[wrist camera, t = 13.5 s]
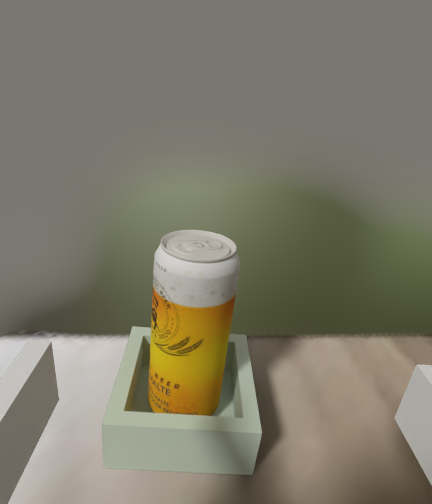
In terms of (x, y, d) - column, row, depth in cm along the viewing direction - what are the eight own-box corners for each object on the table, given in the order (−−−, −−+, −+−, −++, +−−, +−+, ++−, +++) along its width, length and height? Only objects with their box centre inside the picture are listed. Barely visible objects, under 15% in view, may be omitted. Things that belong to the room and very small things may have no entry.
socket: (240, 370, 37) (246, 334, 35) (252, 475, 27) (261, 433, 25) (132, 363, 36) (132, 326, 34) (103, 468, 26) (101, 424, 24)
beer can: (140, 386, 32) (144, 230, 26) (202, 371, 35) (219, 226, 29) (159, 443, 27) (171, 266, 21) (230, 420, 30) (258, 257, 24)
